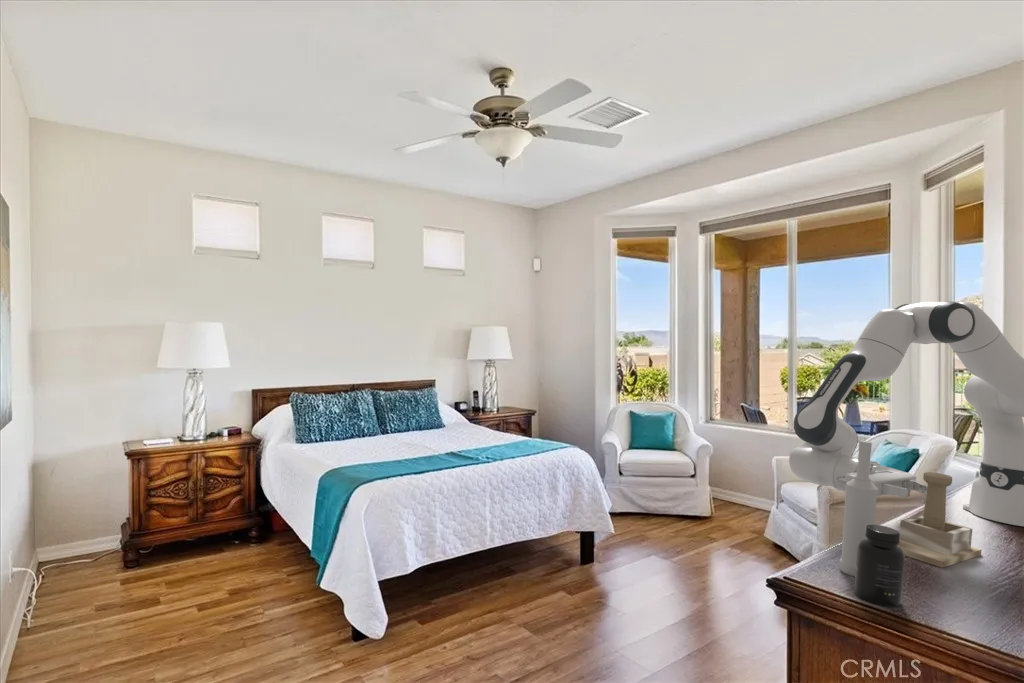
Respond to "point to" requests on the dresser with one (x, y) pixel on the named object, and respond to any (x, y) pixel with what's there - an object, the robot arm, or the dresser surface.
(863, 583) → the supplement bottle
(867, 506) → the bottle
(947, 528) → the tool holder
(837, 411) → the robot arm
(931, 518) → the handle
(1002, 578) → the dresser surface
